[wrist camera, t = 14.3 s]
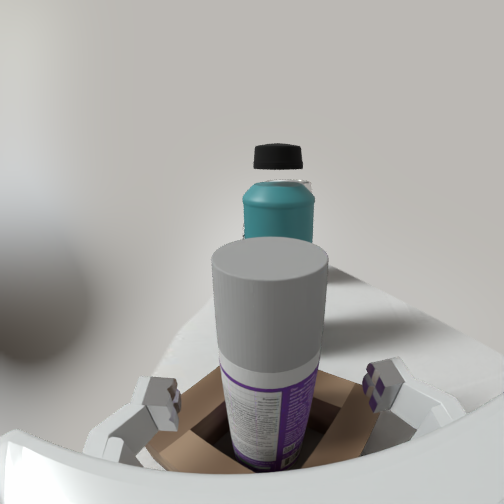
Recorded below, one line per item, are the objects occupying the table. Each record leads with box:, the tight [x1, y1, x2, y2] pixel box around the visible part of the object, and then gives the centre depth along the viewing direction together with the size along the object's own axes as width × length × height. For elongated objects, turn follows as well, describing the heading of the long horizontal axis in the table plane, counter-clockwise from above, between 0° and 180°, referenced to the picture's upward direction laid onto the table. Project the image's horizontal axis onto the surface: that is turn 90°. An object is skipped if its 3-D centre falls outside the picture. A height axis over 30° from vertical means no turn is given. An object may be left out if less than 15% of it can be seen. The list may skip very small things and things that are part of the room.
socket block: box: [145, 366, 380, 474], centre depth 15 cm, size 12×12×4 cm
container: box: [211, 237, 328, 473], centre depth 13 cm, size 5×5×15 cm
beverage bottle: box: [243, 143, 315, 243], centre depth 25 cm, size 6×7×20 cm
